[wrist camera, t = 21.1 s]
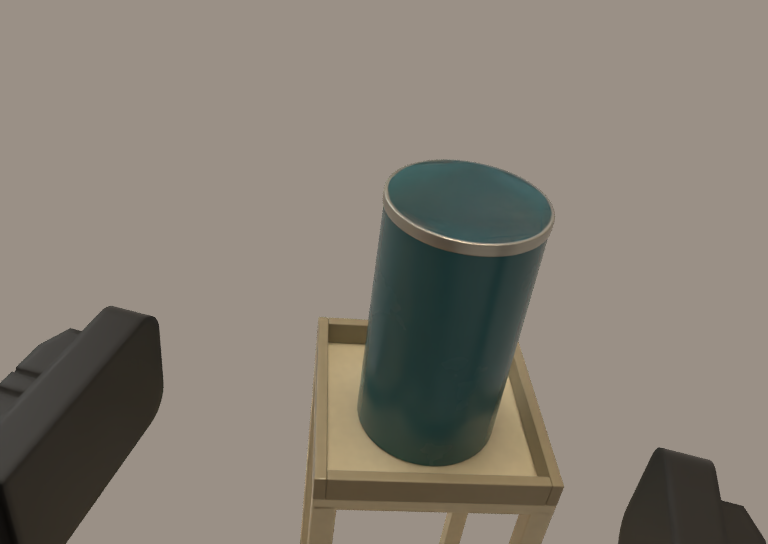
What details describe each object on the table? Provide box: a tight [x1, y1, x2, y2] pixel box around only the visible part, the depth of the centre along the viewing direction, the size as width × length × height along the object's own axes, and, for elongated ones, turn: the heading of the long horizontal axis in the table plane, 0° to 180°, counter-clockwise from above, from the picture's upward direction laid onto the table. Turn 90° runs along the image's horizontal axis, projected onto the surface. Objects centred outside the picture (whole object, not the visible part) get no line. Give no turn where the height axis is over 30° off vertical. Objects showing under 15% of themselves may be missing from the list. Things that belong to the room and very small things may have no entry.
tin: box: [357, 160, 555, 466], centre depth 24 cm, size 5×5×9 cm
